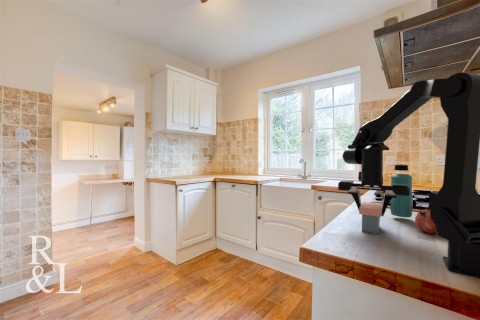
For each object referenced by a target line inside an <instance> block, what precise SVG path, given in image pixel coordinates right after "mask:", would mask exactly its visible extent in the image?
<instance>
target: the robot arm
mask: <svg viewBox="0 0 480 320" xmlns="http://www.w3.org/2000/svg"><path fill="white" fill-rule="evenodd" d="M435 98H436V99H439V102H440V107H441V109H442V111H443V112H444V114H445V116H446V118H447V132H446V141H445V142H446V143H445V153H444V155H445V157H444V168H443V177H442V178H443V181H442V186H441V187H440V189H439V190H438V191H430V192H429V193H428V200H429V201H428V206H427V208H426V209H427V210H430V217H431V219H432V220H433V221H434V223H435V226H436V229H437V232H438V233H437V235H438V237H440V238H443V239H444V240H446V241H447V256H445V255H444V256H442V260H443V262H444V264H445V267H446V269H447V270H448V271H451V272H455V273H461V274H464V275H468V276H474V277H477V278H480V195H479V192H478V190H477V188H476V185H477V183H476V182H477V173H478V165H479V164H478V163H479V151H480V73H472V72H456V73H455V74H452V75H449V77H447V78H434V79H429V80H427V79H426V80H424V79H421V80H418V81H416V82H414V83H413V84H412V85H411V88H410V89H409V90H407V91H406V92H405V93H404V95H402V96H401V98H399V99H398V100H397V101H396V102H395V103H393V104H392V105H391V106H390V107H389V108H388V109H387V110H386V111H384V113H382V114H381V115H380V116H379V117H377V118H374V119H372V120H370V121H367V122H366V123H365V124H363V125H362V126H360V127H359V129H358V131H357V133H356V136H355V137H354V139H353V141H352V143H351V144H348V145H347V148H346V149H345V150H344V151H343V154H342V159H343V162H344V163H346V164H347V165H348V164H350V165H361V170H360V171H358V174H357V175H358V178H357V179H358V182H361V183H355V182H354V180H345V179H343V180H340V181H339V182H338V184H337V190H338V191H343V192H344V191H346V192H347V194H349V195H350V194H351V196H352V199H353V200H354V202H355V204H356V207H357V210H358V211H359V207H360V206H361V204H362V199H361V190H363V191H364V190H365V191H378V192H384V197H383V203H382V204H383V208H382V215H381V217H384V215H385V213H386V211H387V208H388V206H389V204H390V201H391V199H392V198H397V195H403V196H410V188H409V186H408V185H407V184H396V183H393V186H391V185H386V184H385V185H384V176H383V175H384V174H383V173H384V172H383V171H384V167H383V166H384V151H389V150H390V147H389V146H387V145H386V144H385V143H384V142H386V141H387V140H388V139H389V137H390V136H392V133H393V130H394V129H395V128H396V127H397V126H398V125H399V124H401V123H402V122H404V120H405V119H407V118H408V117H409V116H411V115H412V114H413V113H415V112H416V111H417V110H419V109H420V108H422V107H423V106H424V105H425V104H426V103H427V102H429V101H430V100H432V99H435Z"/></svg>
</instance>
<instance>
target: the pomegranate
mask: <svg viewBox="0 0 480 320" xmlns="http://www.w3.org/2000/svg"><path fill="white" fill-rule="evenodd" d="M414 221H415V225H416V226H417V228H418V229H419V230H422V232H426V233H428V234H431V235H438V232H437V229H436V226H435V223H434V221H433V220H432V219H431V217H430V210H427V208H425V209H423V210H419V211H418V212H417V214H416V215H415V218H414Z"/></svg>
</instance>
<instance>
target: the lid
mask: <svg viewBox="0 0 480 320" xmlns="http://www.w3.org/2000/svg"><path fill="white" fill-rule="evenodd" d="M382 208H383V203H377V202H370V201H362V202H361V206H360V207H359V210H358V212H359V213H358V214H359V215H362V214H363V215H371V216H378V217H380V218H381V217H382Z"/></svg>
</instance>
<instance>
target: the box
mask: <svg viewBox="0 0 480 320" xmlns="http://www.w3.org/2000/svg"><path fill="white" fill-rule="evenodd" d="M380 221H381V217H378V216H371V215H363V214H361V233H366V234H372V235H377V236H378V235H379V232H380V228H381V226H380V225H381V224H380V223H381V222H380Z"/></svg>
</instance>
